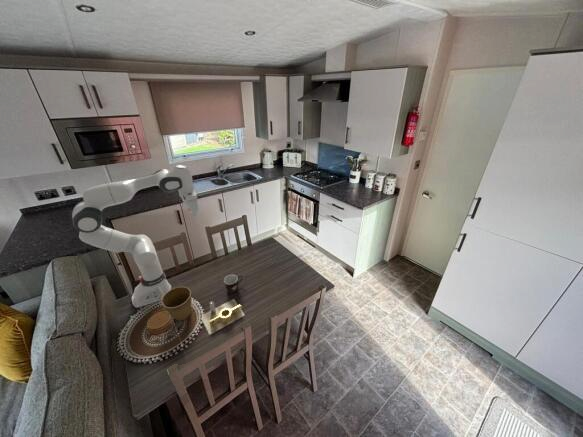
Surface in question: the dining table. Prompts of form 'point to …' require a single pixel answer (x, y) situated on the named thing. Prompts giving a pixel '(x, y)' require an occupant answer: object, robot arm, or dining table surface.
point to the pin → (212, 308)
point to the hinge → (223, 317)
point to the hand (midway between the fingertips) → (192, 213)
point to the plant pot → (178, 302)
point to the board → (208, 316)
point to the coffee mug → (232, 283)
